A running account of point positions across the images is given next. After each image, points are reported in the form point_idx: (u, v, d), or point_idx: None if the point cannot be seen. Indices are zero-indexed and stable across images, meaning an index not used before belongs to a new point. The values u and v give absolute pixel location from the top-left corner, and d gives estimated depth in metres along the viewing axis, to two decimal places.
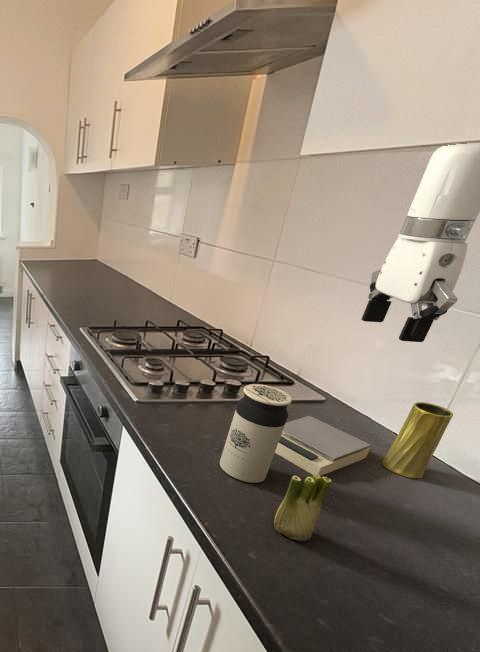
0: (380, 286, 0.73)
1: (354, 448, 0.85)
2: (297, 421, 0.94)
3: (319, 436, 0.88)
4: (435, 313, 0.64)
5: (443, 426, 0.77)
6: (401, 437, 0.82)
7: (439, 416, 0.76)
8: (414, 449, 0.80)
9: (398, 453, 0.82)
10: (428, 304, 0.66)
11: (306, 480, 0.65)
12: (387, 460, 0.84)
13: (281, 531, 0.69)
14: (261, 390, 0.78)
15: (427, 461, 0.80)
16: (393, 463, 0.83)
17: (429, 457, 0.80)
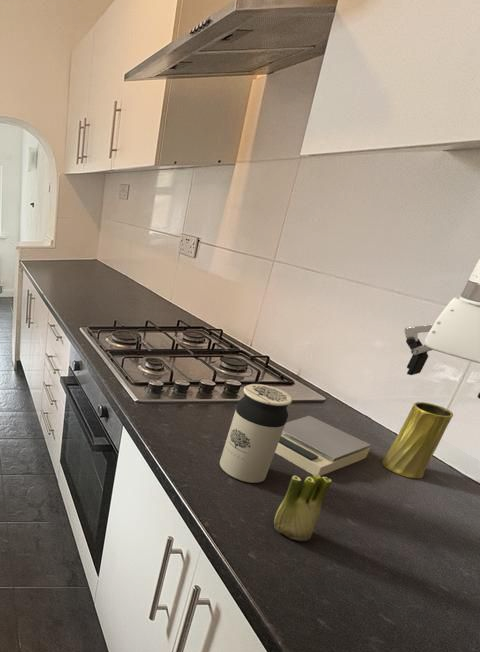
0: (436, 345, 0.75)
1: (354, 448, 0.85)
2: (297, 421, 0.94)
3: (319, 436, 0.88)
4: None
5: (443, 426, 0.77)
6: (401, 437, 0.82)
7: (439, 416, 0.76)
8: (414, 449, 0.80)
9: (398, 453, 0.82)
10: None
11: (306, 480, 0.65)
12: (387, 460, 0.84)
13: (281, 531, 0.69)
14: (261, 390, 0.78)
15: (427, 461, 0.80)
16: (393, 463, 0.83)
17: (429, 457, 0.80)
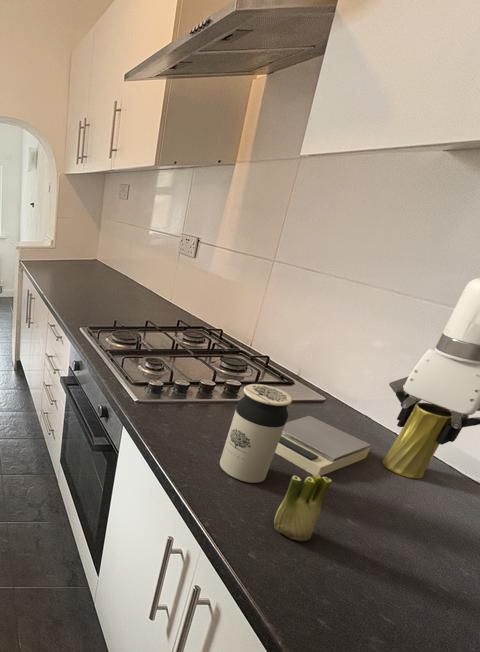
0: (414, 392, 0.79)
1: (354, 448, 0.85)
2: (297, 421, 0.94)
3: (319, 436, 0.88)
4: (473, 424, 0.74)
5: (444, 427, 0.77)
6: (402, 437, 0.82)
7: (441, 417, 0.76)
8: (414, 449, 0.80)
9: (399, 453, 0.82)
10: None
11: (306, 480, 0.65)
12: (387, 460, 0.84)
13: (281, 531, 0.69)
14: (261, 390, 0.78)
15: (427, 461, 0.80)
16: (393, 463, 0.83)
17: (429, 458, 0.80)
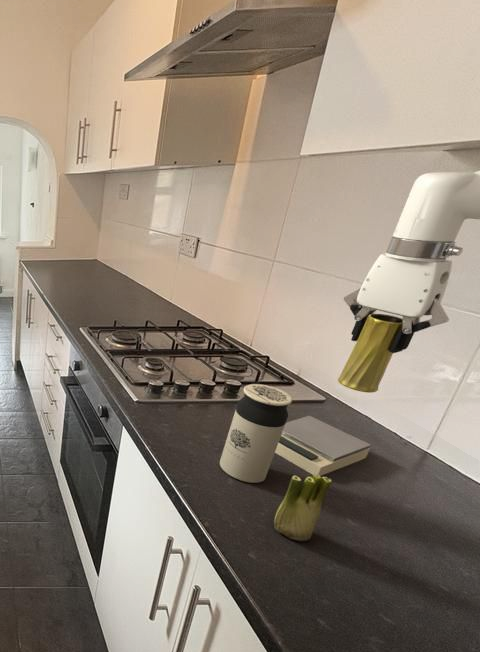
0: (366, 302, 0.78)
1: (354, 448, 0.85)
2: (297, 421, 0.94)
3: (319, 436, 0.88)
4: (423, 327, 0.72)
5: None
6: (356, 350, 0.80)
7: (392, 323, 0.75)
8: (367, 361, 0.78)
9: (353, 367, 0.81)
10: None
11: (306, 480, 0.65)
12: (342, 376, 0.83)
13: (281, 531, 0.69)
14: (261, 390, 0.78)
15: (381, 373, 0.79)
16: (348, 378, 0.82)
17: (382, 369, 0.78)
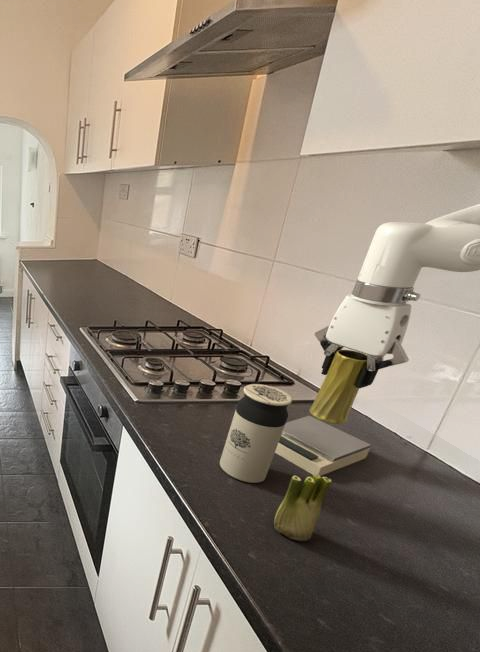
0: (334, 339, 0.82)
1: (354, 448, 0.85)
2: (297, 421, 0.94)
3: (319, 436, 0.88)
4: (386, 366, 0.77)
5: None
6: (325, 384, 0.84)
7: (357, 361, 0.79)
8: (336, 395, 0.83)
9: (322, 400, 0.85)
10: None
11: (306, 480, 0.65)
12: (313, 408, 0.87)
13: (281, 531, 0.69)
14: (261, 390, 0.78)
15: (348, 406, 0.83)
16: (318, 410, 0.86)
17: (350, 402, 0.82)
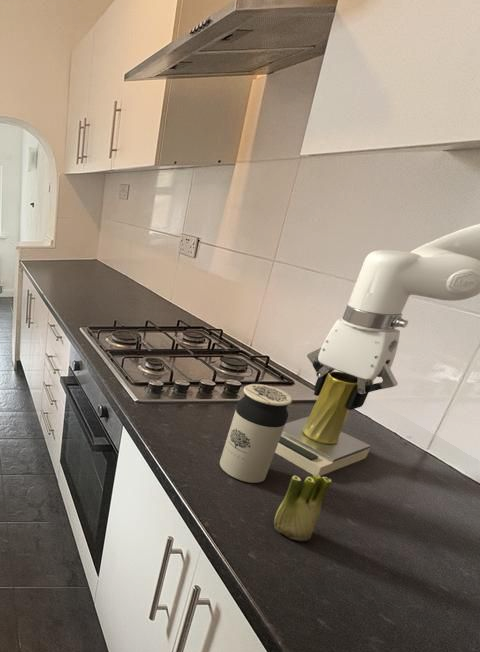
0: (326, 361, 0.84)
1: (353, 449, 0.85)
2: (297, 422, 0.94)
3: None
4: None
5: None
6: (317, 405, 0.86)
7: (348, 383, 0.81)
8: (327, 416, 0.85)
9: (315, 420, 0.87)
10: None
11: (306, 480, 0.65)
12: (306, 427, 0.89)
13: (281, 531, 0.69)
14: (261, 390, 0.78)
15: (340, 427, 0.85)
16: (311, 430, 0.88)
17: (341, 423, 0.84)
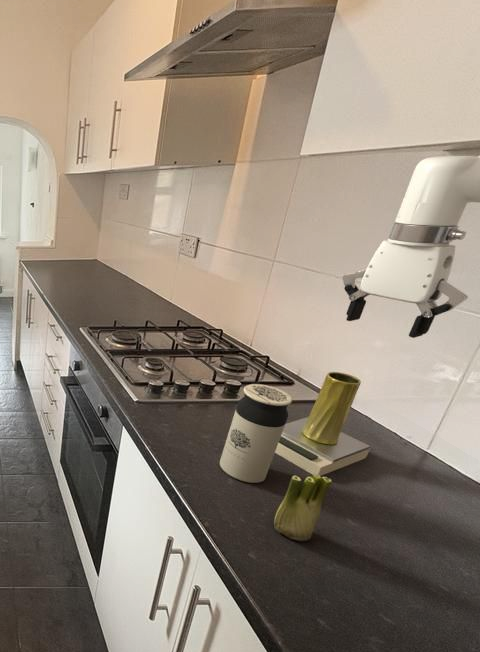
0: (370, 289, 0.77)
1: (353, 449, 0.85)
2: (297, 422, 0.94)
3: None
4: (446, 310, 0.70)
5: (351, 393, 0.82)
6: (317, 405, 0.87)
7: (347, 383, 0.81)
8: (327, 416, 0.85)
9: (314, 420, 0.87)
10: (427, 302, 0.72)
11: (306, 480, 0.65)
12: (306, 428, 0.89)
13: (281, 531, 0.69)
14: (261, 390, 0.78)
15: (340, 427, 0.85)
16: (310, 430, 0.88)
17: (341, 424, 0.85)
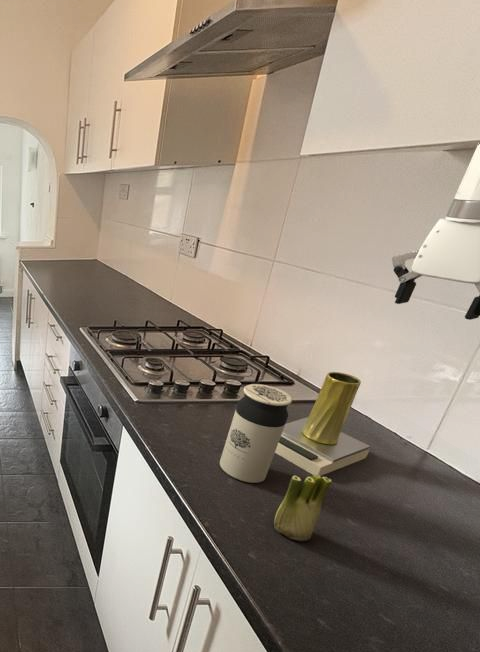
0: (423, 269, 0.75)
1: (353, 449, 0.85)
2: (297, 422, 0.94)
3: None
4: None
5: (351, 393, 0.82)
6: (317, 405, 0.87)
7: (347, 383, 0.81)
8: (327, 416, 0.85)
9: (314, 420, 0.87)
10: None
11: (306, 480, 0.65)
12: (306, 428, 0.89)
13: (281, 531, 0.69)
14: (261, 390, 0.78)
15: (340, 427, 0.85)
16: (310, 430, 0.88)
17: (341, 424, 0.85)
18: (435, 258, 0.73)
